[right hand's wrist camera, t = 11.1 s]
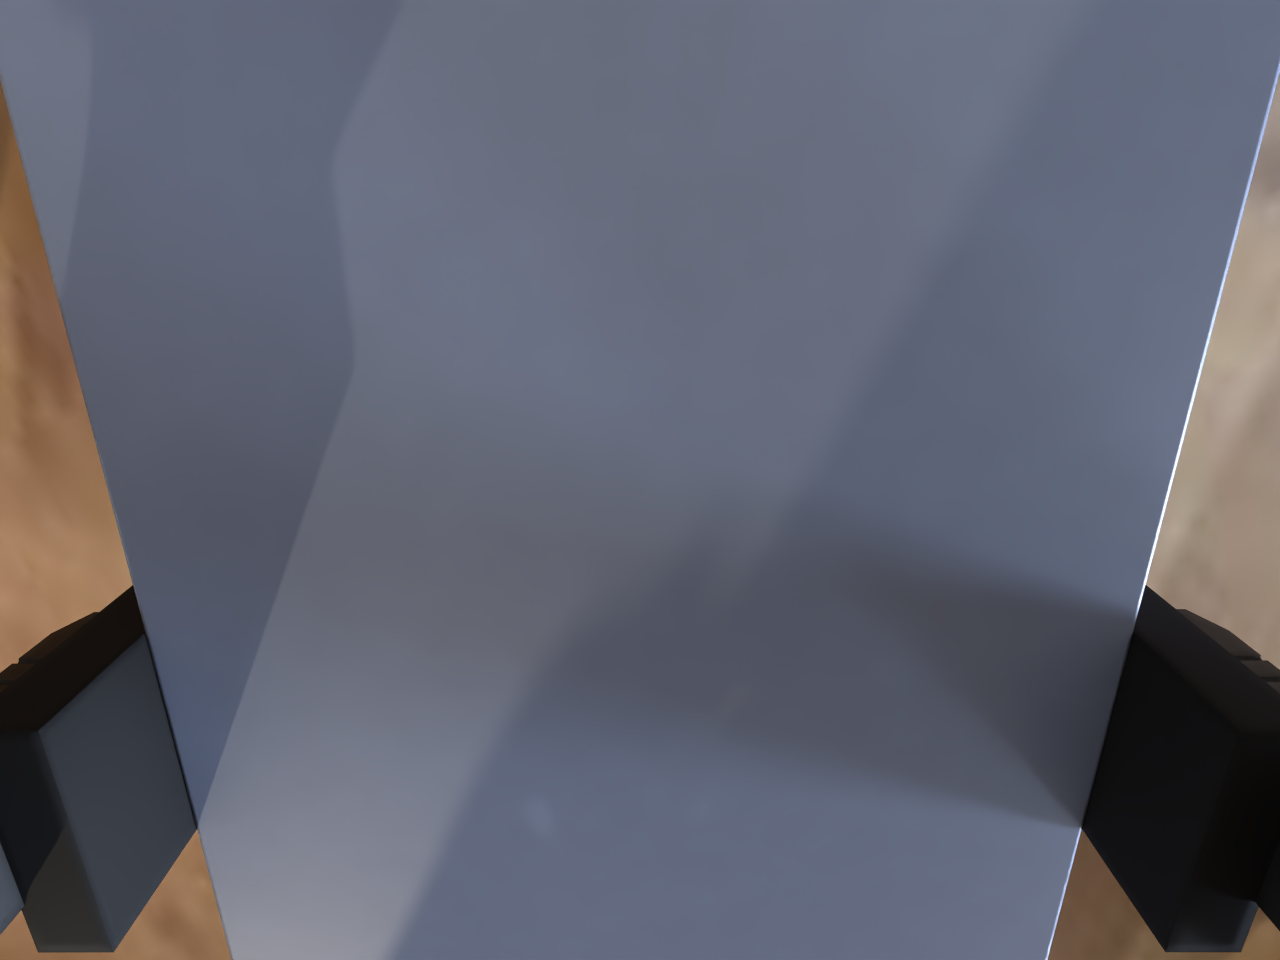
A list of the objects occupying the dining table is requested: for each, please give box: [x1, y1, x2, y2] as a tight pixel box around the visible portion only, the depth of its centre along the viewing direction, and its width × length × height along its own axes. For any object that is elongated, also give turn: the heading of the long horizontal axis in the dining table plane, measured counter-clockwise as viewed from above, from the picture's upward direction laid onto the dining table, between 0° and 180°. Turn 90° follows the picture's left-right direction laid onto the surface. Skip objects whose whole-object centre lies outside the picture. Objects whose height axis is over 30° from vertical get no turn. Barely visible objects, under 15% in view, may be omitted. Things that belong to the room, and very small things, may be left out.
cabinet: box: [0, 0, 1280, 960], centre depth 12 cm, size 18×10×11 cm, turn 0°
